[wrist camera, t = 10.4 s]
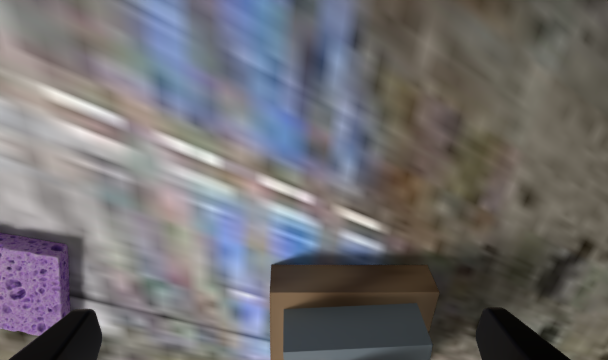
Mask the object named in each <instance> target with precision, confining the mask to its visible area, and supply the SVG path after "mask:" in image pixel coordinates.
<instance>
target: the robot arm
mask: <svg viewBox="0 0 608 360" xmlns="http://www.w3.org/2000/svg"><path fill="white" fill-rule="evenodd" d="M476 341H477V345H478V348H479V351H480V355H481V358H482V360H570V359H569V358H568V357H567V356H565V355H564V354H563V353H561V352H560V351H559V350H558V349H556V348H555V347H554V346H552V345H551V344H550V343H548V342H547V341H546V340H545V339H543V338H542V337H541V336H539V335H538V334H537V333H536V332H534V331H533V330H532V329H530V328H529V327H528V326H527V325H525V324H524V323H523V322H521V321H520V320H519V319H517V318H516V317H515V316H514V315H512V314H511V313H510V312H508V311H507V310H506V309H504V308H500V307H488V308H485V309H484V310H483V313H482V315H481V318H480V321H479V324H478V327H477V330H476ZM101 343H102V332H101V329H100V326H99V323H98V319H97V316H96V313H95V311H94V310H92V309H75V310H73V311H71V312H69V313H68V314H67V315H66V316H64V317H63V318H62V319H60V320H59V321H58V322H57V323H55V324H54V325H53V326H51V327H50V328H49V329H48V330H46V331H45V332H44V333H42V334H41V335H40V336H38V337H37V338H36V339H35V340H33V341H32V342H31V343H29V344H28V345H27V346H26V347H24V348H23V349H22V350H20V351H19V352H18V353H17V354H15V355H14V356H13V357H11V358H10V359H9V360H97V357H98V353H99V350H100V347H101Z"/></svg>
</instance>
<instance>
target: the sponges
mask: <svg viewBox="0 0 608 360" xmlns="http://www.w3.org/2000/svg"><path fill="white" fill-rule="evenodd" d="M68 260H69V257H68V246H67V245H66V244H63V243H55V242H50V241H44V240H40V239H31V238H28V237H23V236H16V235H9V234H3V233H0V329H6V330H10V331H22V332H26V333H28V334H33V335H41V334H42V333H44V332H45V331H46V330H48V329H49V328H50V327H51V326H53V325H54V324H55V323H57V322H58V321H59V320H60V319H62V318H63V317H64V316H66V315H67V314H68V313H69V312H70V298H69V294H70V292H69V289H70V288H69V266H68Z"/></svg>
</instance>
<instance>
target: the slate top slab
mask: <svg viewBox="0 0 608 360" xmlns="http://www.w3.org/2000/svg"><path fill="white" fill-rule="evenodd" d="M432 346H433V344H432V342H431V339H430V336H429V334H428V331H427V328H426V326H425V323H424V320H423V318H422V315H421V312H420V310H419V307H418V304H417V303H408V304H386V305H364V306H343V307H321V308H299V309H284V320H283V357H284V360H430V357H431V352H432Z"/></svg>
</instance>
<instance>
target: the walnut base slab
mask: <svg viewBox="0 0 608 360" xmlns="http://www.w3.org/2000/svg"><path fill="white" fill-rule="evenodd" d="M439 293H440V292H439V290H438V288H437V286H436V283H435V281H434V279H433V277H432V275H431V272H430V270H429V268H428V266H427V265H271V281H270V350H271V360H284V357H283V320H284V309H299V308H321V307H343V306H364V305H386V304H408V303H417V304H418V307H419V310H420V312H421V315H422V318H423V320H424V323H425V326H426V328H427V331H428V334H429V330H430V327H431V323H432V319H433V315H434V312H435V308H436V304H437V300H438V297H439Z"/></svg>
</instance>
